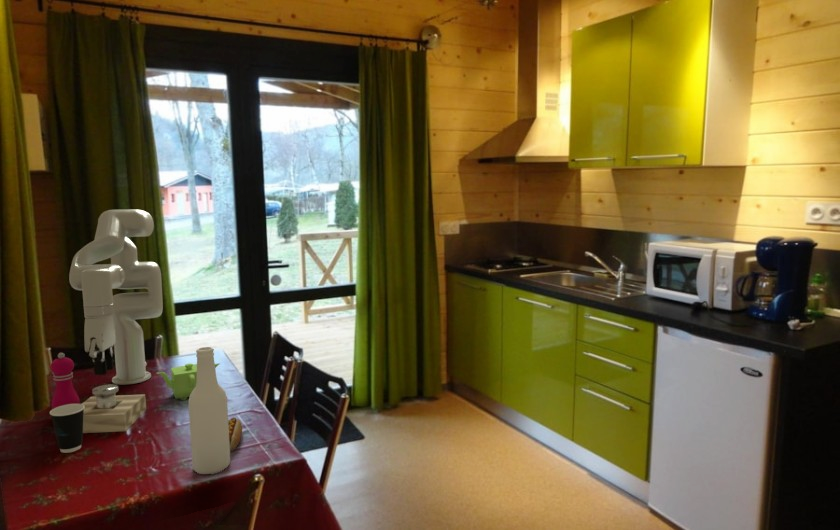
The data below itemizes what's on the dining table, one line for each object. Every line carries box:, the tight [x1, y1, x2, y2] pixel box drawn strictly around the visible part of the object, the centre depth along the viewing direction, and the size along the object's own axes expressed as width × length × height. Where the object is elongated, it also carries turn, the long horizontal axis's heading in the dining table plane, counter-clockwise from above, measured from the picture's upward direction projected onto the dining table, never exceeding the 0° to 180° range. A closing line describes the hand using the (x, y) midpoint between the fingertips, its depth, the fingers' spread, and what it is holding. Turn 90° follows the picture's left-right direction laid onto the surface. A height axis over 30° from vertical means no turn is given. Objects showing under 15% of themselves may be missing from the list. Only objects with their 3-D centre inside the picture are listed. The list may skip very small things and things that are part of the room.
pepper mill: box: [50, 352, 81, 409], centre depth 173 cm, size 7×7×20 cm
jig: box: [81, 393, 147, 434], centre depth 170 cm, size 16×16×5 cm
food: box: [228, 417, 243, 452], centre depth 156 cm, size 14×6×5 cm, turn 11°
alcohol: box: [188, 346, 231, 475], centre depth 140 cm, size 9×9×30 cm
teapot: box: [156, 362, 221, 401], centre depth 192 cm, size 15×13×11 cm
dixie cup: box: [49, 403, 85, 454], centre depth 152 cm, size 8×8×11 cm
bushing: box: [91, 383, 119, 409], centre depth 170 cm, size 7×7×10 cm
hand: (104, 371), depth 169 cm, fingers open, 3 cm apart
